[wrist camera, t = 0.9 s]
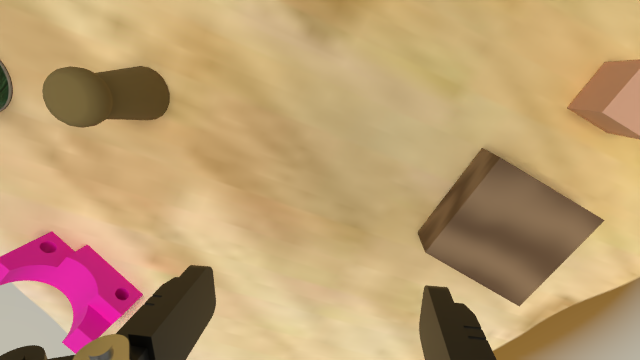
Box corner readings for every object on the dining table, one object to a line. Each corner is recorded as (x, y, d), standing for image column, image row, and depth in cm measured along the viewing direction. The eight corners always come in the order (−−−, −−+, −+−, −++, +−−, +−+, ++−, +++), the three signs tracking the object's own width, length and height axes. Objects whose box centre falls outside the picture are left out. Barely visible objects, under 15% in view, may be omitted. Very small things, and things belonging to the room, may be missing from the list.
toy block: (143, 293, 46) (104, 332, 39) (119, 315, 48) (78, 355, 41) (62, 220, 44) (5, 247, 37) (40, 245, 46) (-18, 275, 39)
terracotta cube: (604, 62, 31) (648, 58, 26) (646, 88, 31) (697, 89, 27) (566, 107, 33) (602, 112, 28) (606, 132, 33) (648, 141, 28)
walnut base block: (481, 147, 35) (500, 157, 30) (571, 201, 36) (604, 220, 31) (417, 231, 39) (425, 252, 34) (500, 279, 39) (519, 306, 35)
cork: (145, 129, 39) (66, 148, 28) (110, 87, 37) (14, 90, 27) (179, 99, 37) (109, 107, 27) (144, 54, 36) (56, 44, 25)
